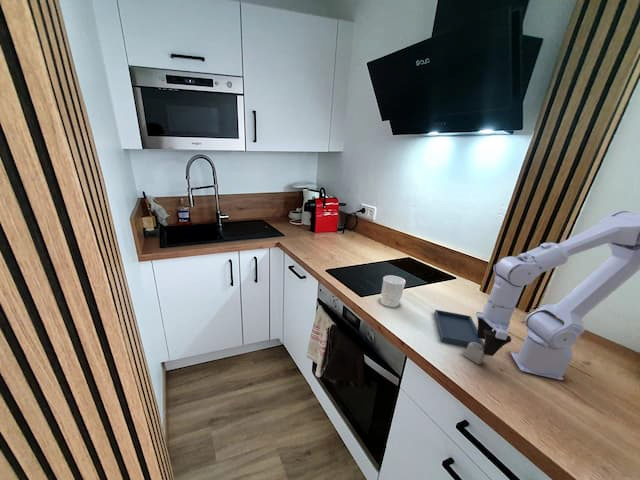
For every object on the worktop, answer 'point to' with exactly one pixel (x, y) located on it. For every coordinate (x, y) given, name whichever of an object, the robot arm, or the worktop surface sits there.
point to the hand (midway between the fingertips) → (484, 345)
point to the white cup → (392, 290)
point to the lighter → (475, 352)
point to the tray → (456, 328)
